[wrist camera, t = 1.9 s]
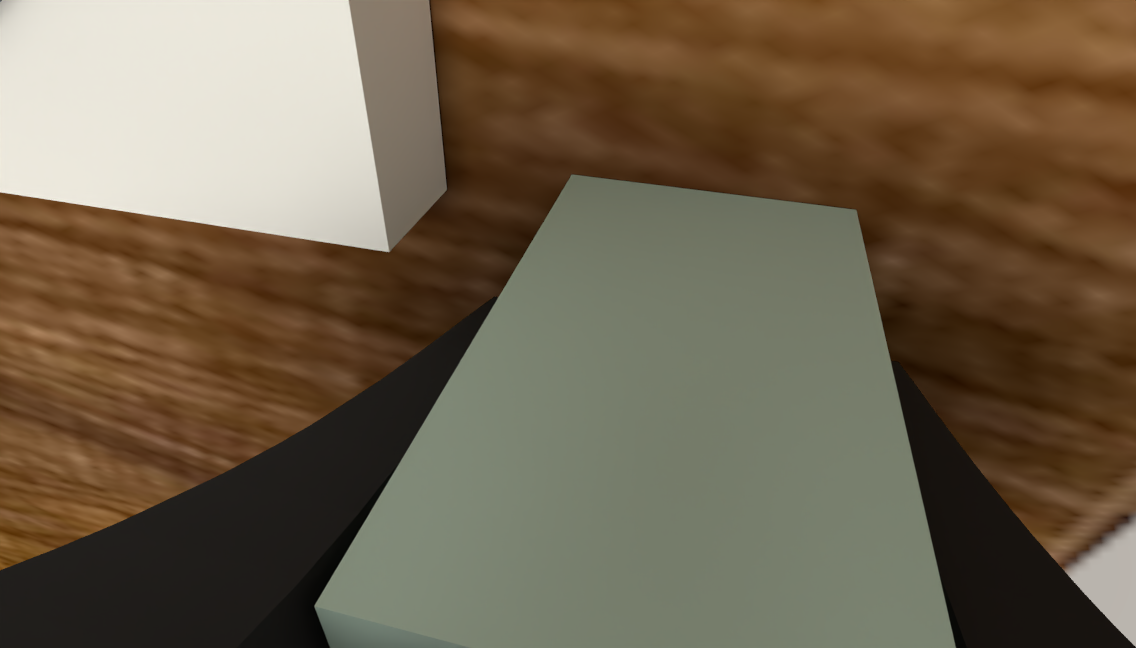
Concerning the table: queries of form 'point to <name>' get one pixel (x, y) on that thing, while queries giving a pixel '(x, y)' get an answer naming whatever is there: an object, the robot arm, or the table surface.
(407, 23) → the notched board
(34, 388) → the table surface
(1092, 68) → the table surface
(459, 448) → the block
